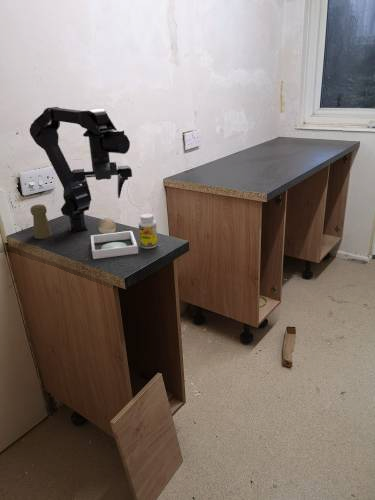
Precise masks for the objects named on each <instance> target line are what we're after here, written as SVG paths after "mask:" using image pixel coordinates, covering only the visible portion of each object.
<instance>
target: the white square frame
mask: <svg viewBox="0 0 375 500" xmlns="http://www.w3.org/2000/svg"><path fill="white" fill-rule="evenodd" d="M90 240H91V241H90V243H91V253H92V254H91V255H92V259H93V260H97V259H105V258H113V257H119V256H127V255H128V256H129V255H136V254H139V249H138V247H139V246H138V244H137V240H136V238H135V236H134V233H133V230H126V231H125V230H124V231H120V232H119V231H117V232H114V233H108V234H102V233H100V234H91V235H90ZM124 240H130V242H131V243H132V245H127V244H126V243H125V242H121V241H124ZM105 242H106V243H105ZM107 242H108V243H107ZM99 243H105V244H103V245H102V246H101V249H96V246H95V244H99Z"/></svg>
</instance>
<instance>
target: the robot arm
mask: <svg viewBox="0 0 375 500" xmlns="http://www.w3.org/2000/svg"><path fill="white" fill-rule="evenodd" d="M61 122H62V123H69V124H76V125H78V126H80V127H81V128H83V129H85V130H86V131H85V132H84V133H83V134H82V136H83V137H86V138H88V143H89V144H88V145H89V153H90V160H91V161H90V162H91V168H92V170H90V171H89V170H88V171H85V169H84V168H79V169H78V168H77V169H73V170H72V169H71V168H70V165H69V163H68V162H67V159H66V157H65V155H64V153H63V151H62V149H61V148H60V145H59V137H60V136H59V132H58V130H59V128H60V127H61ZM29 134H30V136H31V138H32V139H33V141H34V142H35V144H36V145H38V147H40V148H41V149H43V150H44V152H45V154H46V156H47V158H48V159H49V162H50V164H51V166H52V167H53V170H54V172H55V175H57V177H58V180H59V182H60V184H61V186H62V188H63V195H62V196H63V200H64V203H63V205H62V207H61V208H60V212H61V213H62V215H63V216H66V217H67V216H68V223H69V225H68V232H69V233H74V232H75V233H76V232H83V231H88V229H89V228H88V223H87V222H86V215H85V212H86V211H89V210H90V205H91V201H92V196H91V195H92V194H91V191H90V187H89V183H88V181H87V178H95V180H96V181H101V180H110V179H112V176H117V198H118V199H119V198H121V193H122V188H123V185H124V183H125V181H127V180H129V178H132V177H133V170H132V168H131V167H130V166H129V165H117V162H116V161H113V162H112V161H110V160H111V158H110V154H112V153H113V154H122V155H125V154H127V153H128V151H129V150H130V145H131V144H130V143H131V141H130V140H129V138H128V135H126V134H125V130H123V129H121V130H120V129H119V130H117V128H116V126H115V125H114V123H113V122H112V120H111V119H110V117H109V115H108V113H107V111H106V109H103V108H98V109H92V110H91V109H90V110H78V109H71V108H70V109H69V108H64V107H59V106H52V107H46V108H45V109H44V110H43V111H42V114H40V115H39V116H38V117H36V118H35V119H34V121H33V122H32V123H31V125H30V127H29Z"/></svg>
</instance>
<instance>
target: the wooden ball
mask: <svg viewBox="0 0 375 500" xmlns="http://www.w3.org/2000/svg"><path fill="white" fill-rule="evenodd" d="M98 230H99V231H98V232H99V233H100V234H108V233H116V232H115V231H116V230H117V223H116V221H114V220H113V219H112V218H110V217H106V218H102V219H101V220H100V221H99V222H98Z"/></svg>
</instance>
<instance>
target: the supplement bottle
mask: <svg viewBox="0 0 375 500" xmlns="http://www.w3.org/2000/svg"><path fill="white" fill-rule="evenodd" d="M138 233H139V234H138V235H139V245H140V247H141V248H143V249H153V248H156V247H157V246H158V230H157V220H155V219H154V215H153V214H151V213H144V214H141V215H140V221H138Z"/></svg>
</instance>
